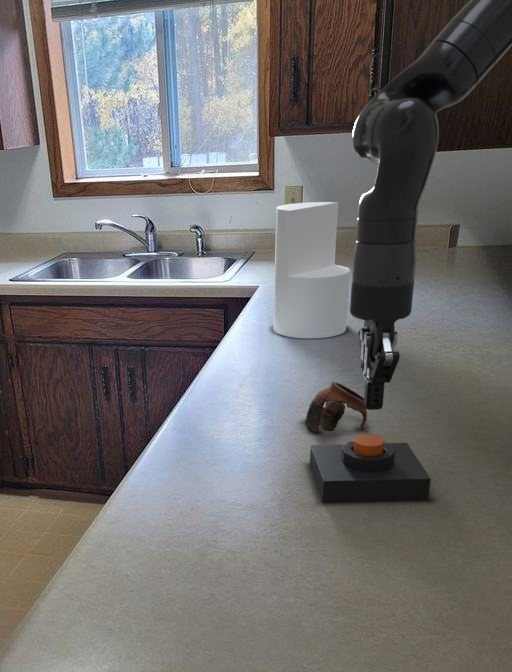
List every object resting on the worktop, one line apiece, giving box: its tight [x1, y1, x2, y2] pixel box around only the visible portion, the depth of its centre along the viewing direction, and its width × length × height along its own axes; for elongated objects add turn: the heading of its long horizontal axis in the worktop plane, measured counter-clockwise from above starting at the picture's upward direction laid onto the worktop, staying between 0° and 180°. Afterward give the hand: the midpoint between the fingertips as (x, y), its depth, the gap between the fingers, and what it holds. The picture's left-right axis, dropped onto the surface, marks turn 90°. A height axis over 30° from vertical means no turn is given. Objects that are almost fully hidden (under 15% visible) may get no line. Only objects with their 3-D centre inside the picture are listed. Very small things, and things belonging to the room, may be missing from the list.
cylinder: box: [273, 201, 351, 339], centre depth 173 cm, size 17×17×28 cm
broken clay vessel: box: [304, 381, 368, 433], centre depth 121 cm, size 12×10×8 cm
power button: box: [353, 434, 385, 456], centre depth 102 cm, size 4×4×2 cm
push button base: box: [309, 440, 431, 503], centre depth 104 cm, size 14×12×5 cm
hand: (372, 407), depth 100 cm, fingers closed
